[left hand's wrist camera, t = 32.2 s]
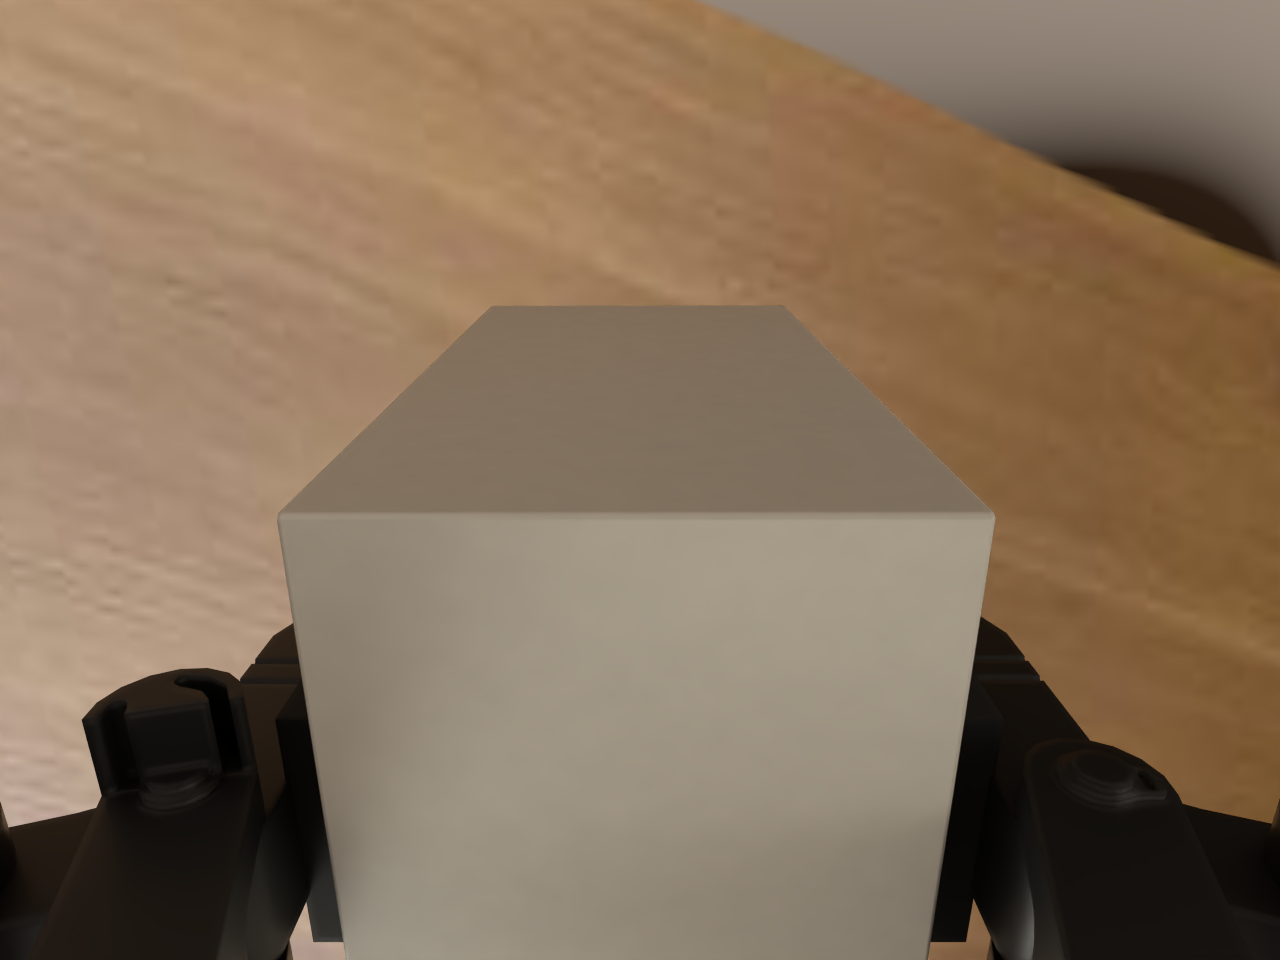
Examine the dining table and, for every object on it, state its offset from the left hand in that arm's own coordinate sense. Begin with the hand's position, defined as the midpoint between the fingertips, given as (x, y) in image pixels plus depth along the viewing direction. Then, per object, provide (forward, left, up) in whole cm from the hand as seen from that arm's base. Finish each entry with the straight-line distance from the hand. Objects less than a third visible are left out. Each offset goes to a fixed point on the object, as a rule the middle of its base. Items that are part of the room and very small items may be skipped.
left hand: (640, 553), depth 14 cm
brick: (0, 0, -2) cm, 2 cm away
